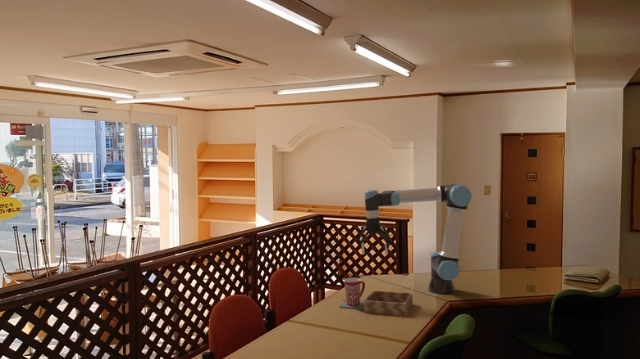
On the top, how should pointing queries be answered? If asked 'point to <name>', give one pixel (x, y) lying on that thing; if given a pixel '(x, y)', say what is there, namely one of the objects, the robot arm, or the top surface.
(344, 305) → the mat
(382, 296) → the crate
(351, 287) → the mug
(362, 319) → the top surface
